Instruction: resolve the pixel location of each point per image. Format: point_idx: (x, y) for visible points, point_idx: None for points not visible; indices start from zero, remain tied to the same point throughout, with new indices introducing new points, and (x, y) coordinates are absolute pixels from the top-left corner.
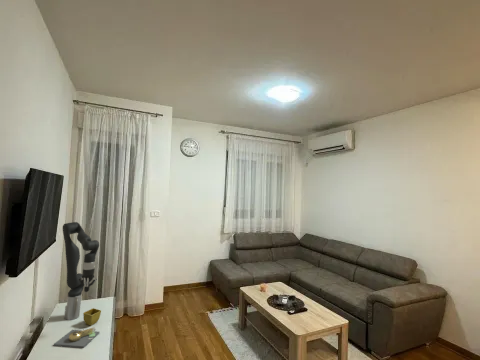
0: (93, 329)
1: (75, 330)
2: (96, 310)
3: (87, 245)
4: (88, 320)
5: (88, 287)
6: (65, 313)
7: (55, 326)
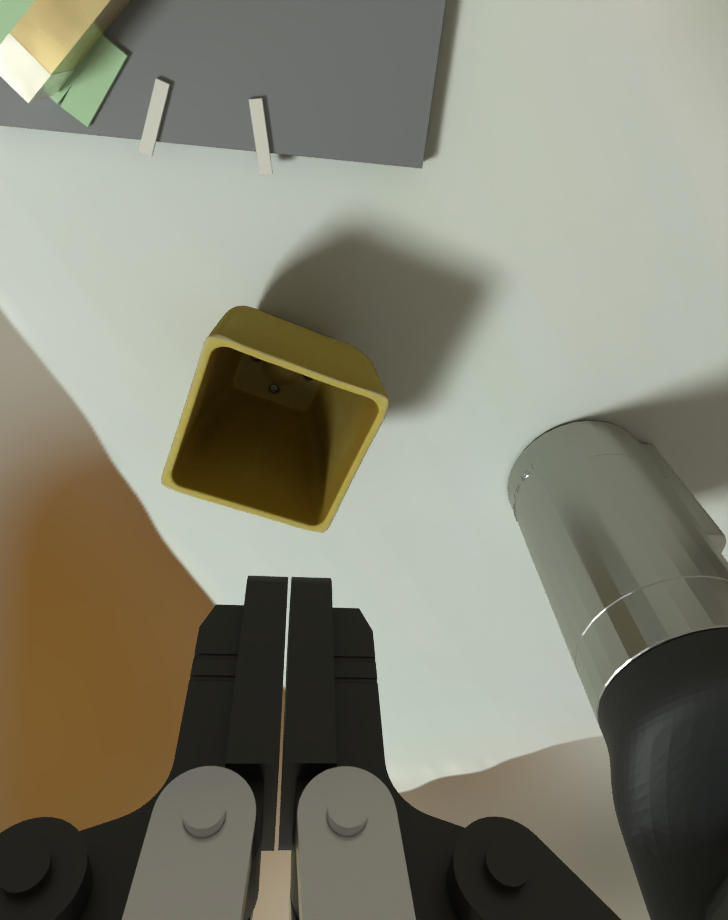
0: (6, 43)
1: (367, 146)
2: (255, 498)
3: None
4: (277, 325)
5: (177, 757)
6: (670, 477)
7: (686, 275)
